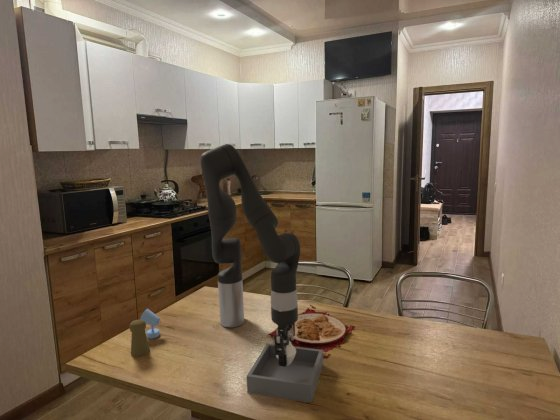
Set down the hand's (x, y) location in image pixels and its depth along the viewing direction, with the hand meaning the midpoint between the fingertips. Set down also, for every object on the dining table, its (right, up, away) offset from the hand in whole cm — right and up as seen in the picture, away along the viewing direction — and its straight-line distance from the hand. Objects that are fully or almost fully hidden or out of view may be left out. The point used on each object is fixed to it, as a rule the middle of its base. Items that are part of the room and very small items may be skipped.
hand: (285, 359), depth 110 cm
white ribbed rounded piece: (0, -1, 0) cm, 1 cm away
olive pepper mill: (-49, -5, +18) cm, 52 cm away
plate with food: (+12, -2, +29) cm, 31 cm away
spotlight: (-49, -3, +30) cm, 57 cm away
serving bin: (0, -6, +1) cm, 6 cm away
